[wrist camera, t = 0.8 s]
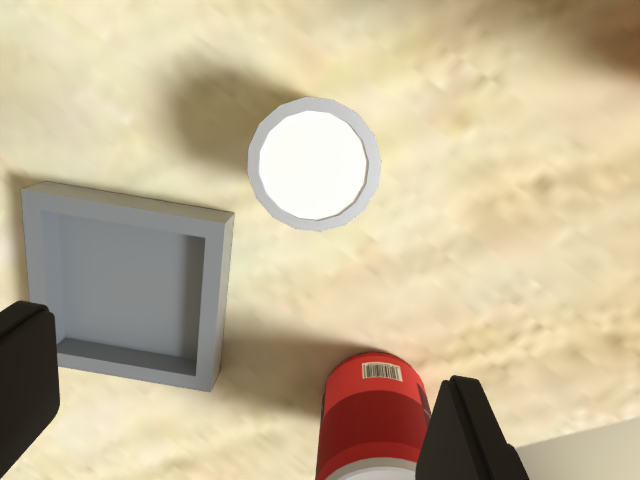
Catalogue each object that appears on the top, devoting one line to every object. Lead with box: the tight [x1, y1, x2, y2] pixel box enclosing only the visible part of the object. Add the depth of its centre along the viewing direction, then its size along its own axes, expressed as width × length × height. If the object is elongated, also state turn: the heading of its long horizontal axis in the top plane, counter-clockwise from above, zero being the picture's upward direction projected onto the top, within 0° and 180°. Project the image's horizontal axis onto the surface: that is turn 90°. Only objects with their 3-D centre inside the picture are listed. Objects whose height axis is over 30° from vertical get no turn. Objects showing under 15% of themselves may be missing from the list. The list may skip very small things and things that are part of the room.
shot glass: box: [247, 97, 382, 232], centre depth 25 cm, size 7×7×7 cm
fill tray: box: [21, 181, 235, 392], centre depth 31 cm, size 13×13×2 cm
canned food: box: [315, 352, 432, 480], centre depth 29 cm, size 8×8×11 cm
